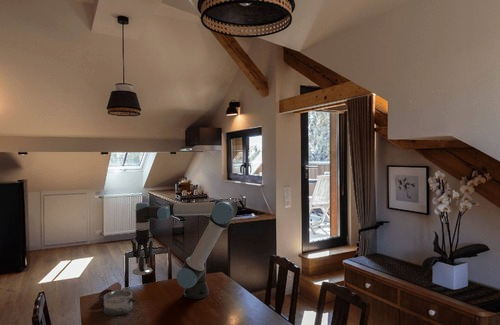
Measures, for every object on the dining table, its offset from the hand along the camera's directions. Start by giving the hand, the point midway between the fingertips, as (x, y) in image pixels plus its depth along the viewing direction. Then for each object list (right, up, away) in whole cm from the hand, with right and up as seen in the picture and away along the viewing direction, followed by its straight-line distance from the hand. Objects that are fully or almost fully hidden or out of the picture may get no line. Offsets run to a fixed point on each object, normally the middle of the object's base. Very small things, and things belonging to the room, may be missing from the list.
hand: (142, 268), depth 202 cm
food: (-18, -19, +4) cm, 27 cm away
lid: (0, -2, 0) cm, 2 cm away
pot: (-9, -19, -12) cm, 24 cm away
